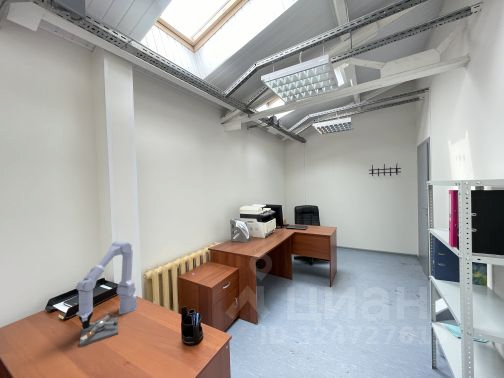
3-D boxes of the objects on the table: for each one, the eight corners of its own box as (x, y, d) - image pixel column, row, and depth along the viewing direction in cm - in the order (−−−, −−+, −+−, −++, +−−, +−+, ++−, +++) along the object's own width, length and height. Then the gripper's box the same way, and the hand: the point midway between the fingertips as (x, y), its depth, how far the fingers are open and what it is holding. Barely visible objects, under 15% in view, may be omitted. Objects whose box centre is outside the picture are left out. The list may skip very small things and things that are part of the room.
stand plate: (117, 318, 126) (117, 316, 126) (118, 334, 112) (118, 331, 112) (82, 328, 117) (82, 326, 117) (78, 347, 103) (78, 344, 103)
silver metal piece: (126, 317, 124) (126, 310, 124) (107, 339, 106) (107, 332, 106) (93, 318, 123) (93, 312, 123) (68, 341, 105) (68, 334, 105)
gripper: (78, 298, 116) (78, 323, 116) (74, 311, 104) (74, 338, 104) (94, 295, 120) (94, 319, 120) (92, 306, 108) (92, 333, 108)
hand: (86, 328), depth 113 cm, fingers closed, pressing on silver metal piece
